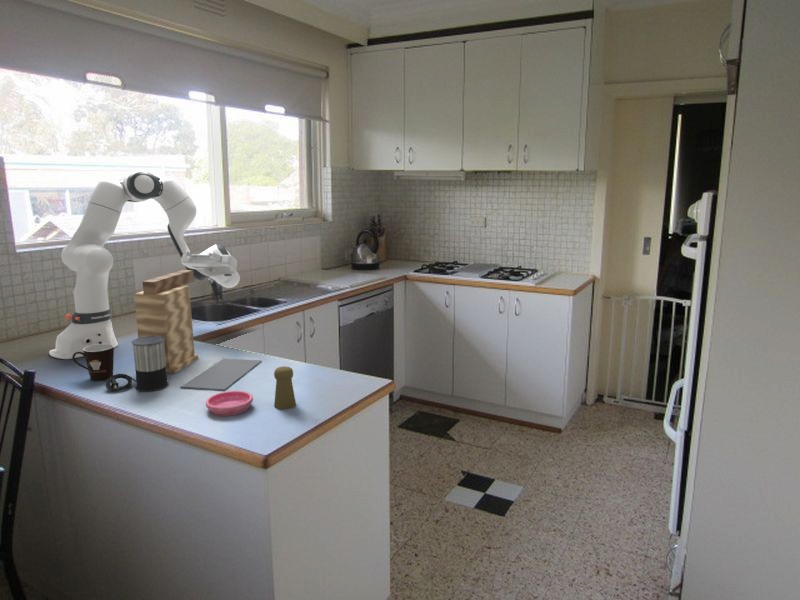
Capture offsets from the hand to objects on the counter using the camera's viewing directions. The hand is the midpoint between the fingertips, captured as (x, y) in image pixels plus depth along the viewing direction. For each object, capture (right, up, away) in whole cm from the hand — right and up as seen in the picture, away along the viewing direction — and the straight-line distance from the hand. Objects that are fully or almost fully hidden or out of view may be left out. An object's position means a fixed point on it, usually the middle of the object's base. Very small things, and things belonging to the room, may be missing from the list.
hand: (199, 253), depth 210 cm
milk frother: (-5, -44, -38) cm, 58 cm away
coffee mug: (-22, -42, -29) cm, 56 cm away
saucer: (+28, -47, -54) cm, 77 cm away
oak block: (-4, -39, -17) cm, 43 cm away
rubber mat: (+17, -41, -26) cm, 52 cm away
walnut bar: (-3, -13, -18) cm, 23 cm away
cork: (+42, -47, -52) cm, 81 cm away
